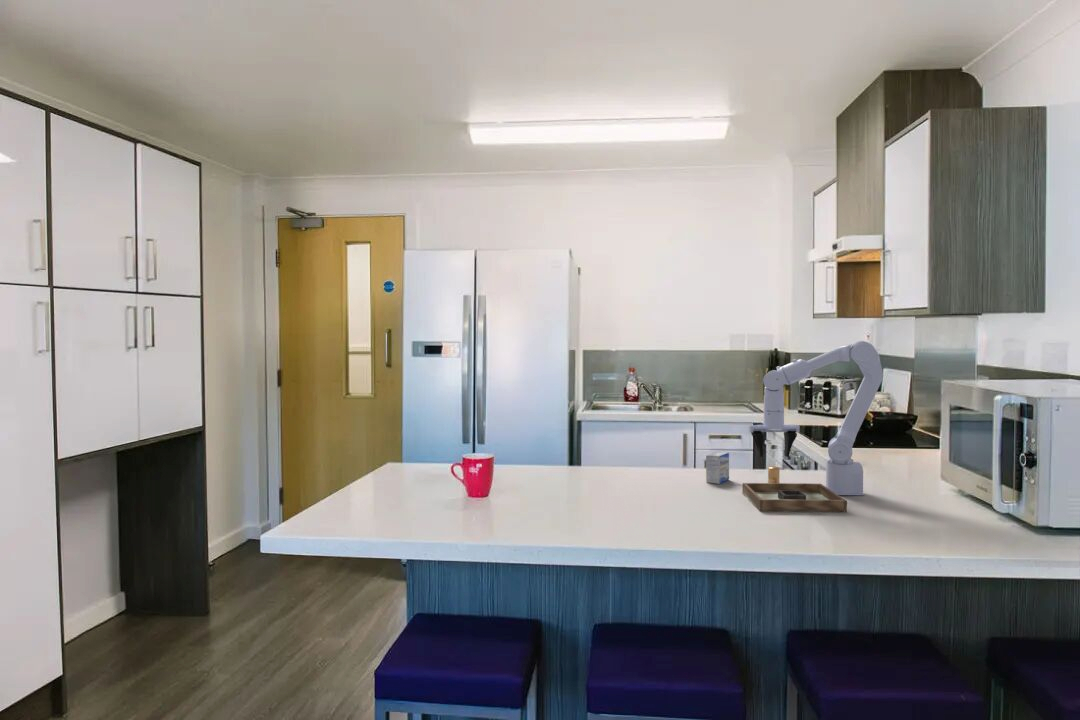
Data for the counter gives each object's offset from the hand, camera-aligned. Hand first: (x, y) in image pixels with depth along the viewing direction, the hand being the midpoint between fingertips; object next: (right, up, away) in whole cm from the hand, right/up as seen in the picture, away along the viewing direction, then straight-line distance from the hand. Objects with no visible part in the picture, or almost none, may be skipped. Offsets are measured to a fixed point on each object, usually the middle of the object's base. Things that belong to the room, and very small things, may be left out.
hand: (773, 456), depth 206 cm
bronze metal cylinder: (0, -9, +1) cm, 9 cm away
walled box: (-1, -10, -17) cm, 20 cm away
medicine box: (-14, -9, +9) cm, 19 cm away
